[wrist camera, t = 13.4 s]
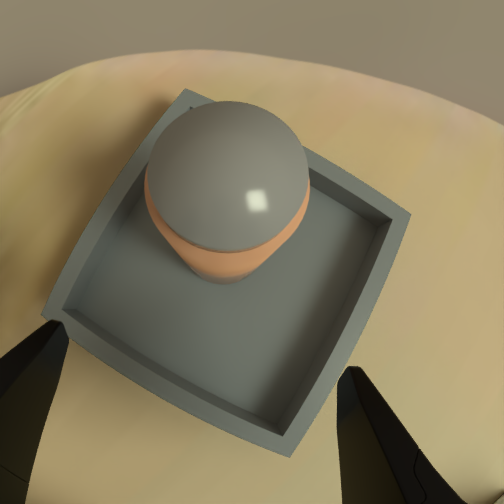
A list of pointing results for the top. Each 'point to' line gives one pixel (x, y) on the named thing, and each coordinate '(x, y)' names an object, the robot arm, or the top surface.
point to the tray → (231, 302)
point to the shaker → (227, 188)
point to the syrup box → (500, 500)
